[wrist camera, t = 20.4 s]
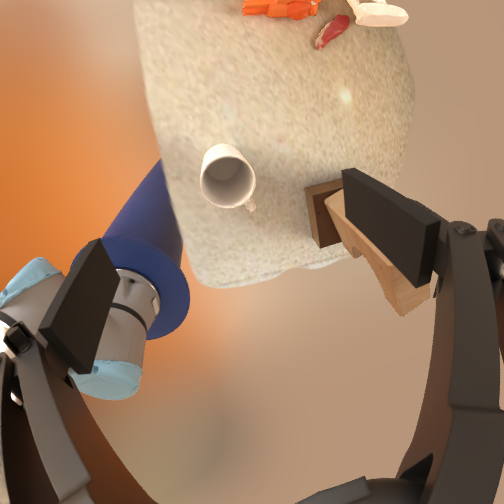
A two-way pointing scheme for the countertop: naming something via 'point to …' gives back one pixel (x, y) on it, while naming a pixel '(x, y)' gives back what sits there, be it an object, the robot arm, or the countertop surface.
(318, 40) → the steak
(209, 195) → the mug
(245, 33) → the countertop surface
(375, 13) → the figurine
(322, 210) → the plinth
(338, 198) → the decorative block
